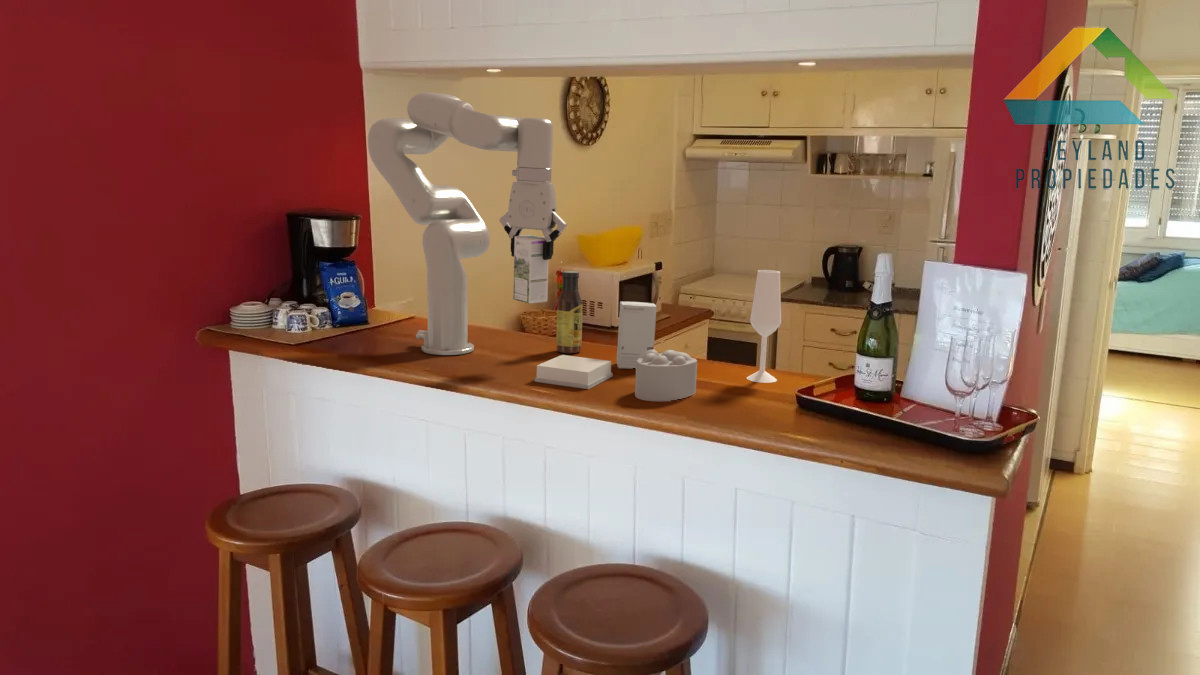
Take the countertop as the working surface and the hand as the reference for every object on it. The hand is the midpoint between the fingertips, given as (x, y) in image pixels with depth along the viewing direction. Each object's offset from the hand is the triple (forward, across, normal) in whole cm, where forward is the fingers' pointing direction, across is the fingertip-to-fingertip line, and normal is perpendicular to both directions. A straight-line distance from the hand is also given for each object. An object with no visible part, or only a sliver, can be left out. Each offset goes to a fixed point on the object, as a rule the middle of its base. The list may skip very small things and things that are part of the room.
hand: (531, 257), depth 192 cm
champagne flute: (+24, +50, +16) cm, 58 cm away
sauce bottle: (+25, +1, +19) cm, 32 cm away
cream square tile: (+25, +14, -5) cm, 29 cm away
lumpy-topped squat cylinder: (+24, +35, -7) cm, 43 cm away
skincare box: (+25, +21, +13) cm, 35 cm away
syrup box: (+10, 0, 0) cm, 10 cm away
